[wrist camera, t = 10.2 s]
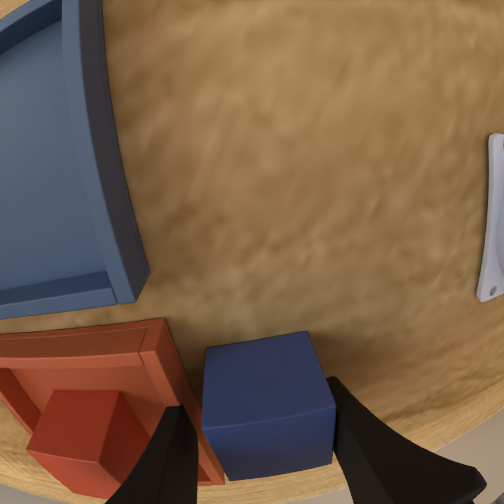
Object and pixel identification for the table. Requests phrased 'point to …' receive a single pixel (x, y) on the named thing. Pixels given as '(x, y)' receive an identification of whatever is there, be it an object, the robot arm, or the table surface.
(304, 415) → the blue block
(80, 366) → the terracotta tray
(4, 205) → the blue tray
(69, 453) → the rust block
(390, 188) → the table surface
